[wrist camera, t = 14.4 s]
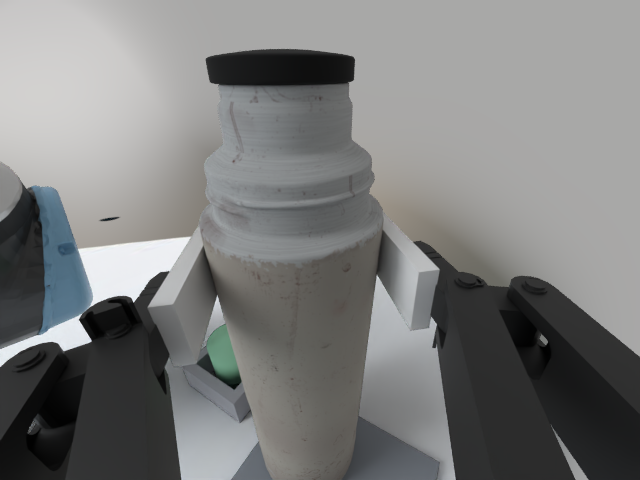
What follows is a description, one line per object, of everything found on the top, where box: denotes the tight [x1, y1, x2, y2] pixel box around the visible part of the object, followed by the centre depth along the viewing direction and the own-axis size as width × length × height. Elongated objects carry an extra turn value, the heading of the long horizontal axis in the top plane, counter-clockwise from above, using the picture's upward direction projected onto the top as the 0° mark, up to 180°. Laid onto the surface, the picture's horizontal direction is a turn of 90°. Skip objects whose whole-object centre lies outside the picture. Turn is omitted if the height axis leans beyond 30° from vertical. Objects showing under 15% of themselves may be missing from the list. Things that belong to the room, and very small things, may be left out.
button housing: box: [182, 346, 251, 423], centre depth 30 cm, size 8×8×3 cm
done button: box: [207, 324, 242, 384], centre depth 29 cm, size 5×5×4 cm
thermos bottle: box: [199, 49, 384, 480], centre depth 16 cm, size 8×8×28 cm
